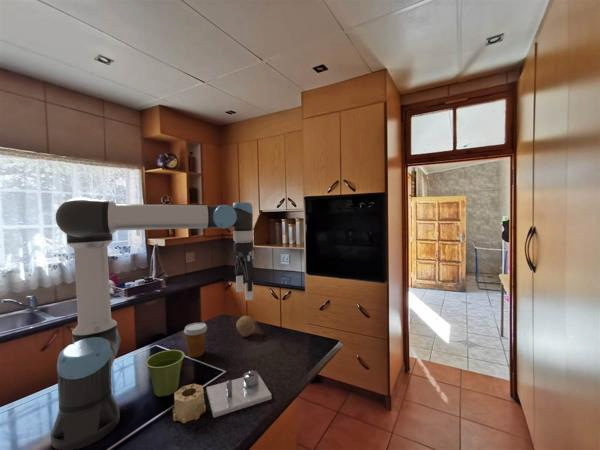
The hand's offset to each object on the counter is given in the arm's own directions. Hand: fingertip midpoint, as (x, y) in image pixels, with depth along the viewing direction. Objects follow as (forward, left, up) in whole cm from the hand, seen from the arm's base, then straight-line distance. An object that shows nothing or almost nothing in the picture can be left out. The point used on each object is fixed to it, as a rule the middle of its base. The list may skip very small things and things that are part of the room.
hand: (244, 295), depth 110 cm
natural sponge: (+8, +27, -28) cm, 40 cm away
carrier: (-7, -18, -28) cm, 34 cm away
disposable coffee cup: (-16, +19, -28) cm, 38 cm away
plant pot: (-28, -4, -28) cm, 40 cm away
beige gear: (-22, -19, -28) cm, 40 cm away
